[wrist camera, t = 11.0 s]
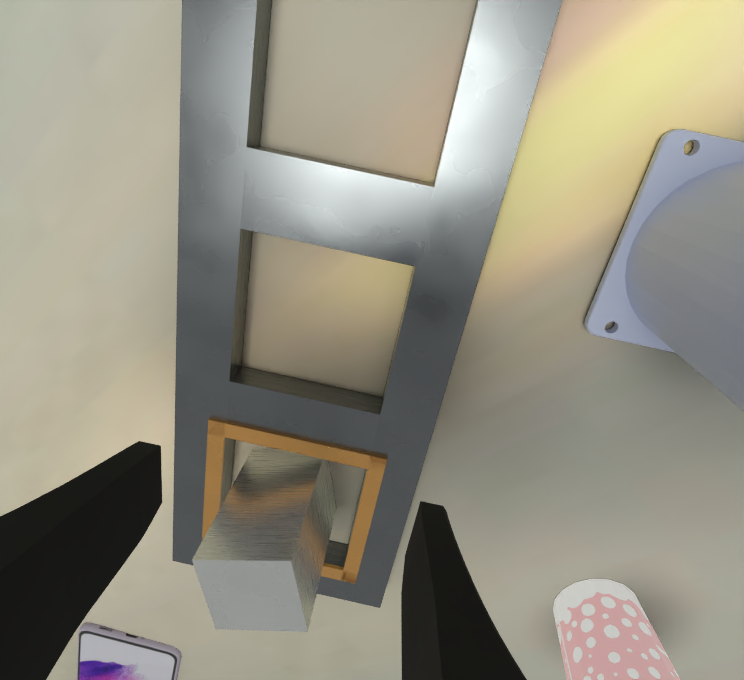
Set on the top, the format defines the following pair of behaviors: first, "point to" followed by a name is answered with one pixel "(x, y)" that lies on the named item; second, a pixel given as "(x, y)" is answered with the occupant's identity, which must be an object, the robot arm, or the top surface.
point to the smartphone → (123, 656)
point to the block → (268, 543)
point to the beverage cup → (608, 634)
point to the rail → (342, 232)
